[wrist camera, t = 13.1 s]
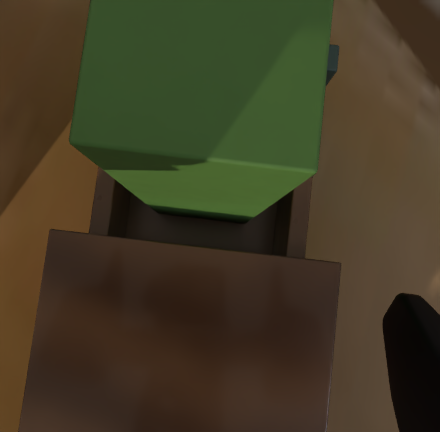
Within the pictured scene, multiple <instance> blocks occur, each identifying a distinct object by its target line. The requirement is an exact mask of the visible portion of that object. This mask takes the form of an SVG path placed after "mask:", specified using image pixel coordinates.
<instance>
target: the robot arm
mask: <svg viewBox="0 0 440 432" xmlns="http://www.w3.org/2000/svg"><path fill="white" fill-rule="evenodd" d="M383 335H384V343H385V351H386V359H387V367H388V376H389V384H390V390H391V397H392V402H393V406H394V411H395V415H396V419H397V424H398V428H399V432H440V315H439V314H438V313H437V312H436V311H435V310H434V309H433V308H432V307H431V306H430V305H429V304H428V303H427V302H426V301H425V300H424V299H423V298H422V297H421V296H419V295H415V294H406V293H400V294H398V295H397V296H396V297H395V299H394V300H393V302H392V304H391V305H390V307H389V309H388V310H387V312H386V314H385V315H384V318H383Z"/></svg>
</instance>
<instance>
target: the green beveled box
mask: <svg viewBox="0 0 440 432" xmlns="http://www.w3.org/2000/svg"><path fill="white" fill-rule="evenodd" d="M333 1H334V0H90V6H89V13H88V19H87V26H86V32H85V39H84V45H83V52H82V58H81V65H80V71H79V78H78V84H77V91H76V97H75V104H74V110H73V117H72V123H71V130H70V136H69V142H70V144H71V145H72V146H74V147H75V148H76V149H77V150H79V151H80V152H81V153H82V154H84V155H85V156H86V157H87V158H89V159H90V160H91V161H92V162H94V163H95V164H96V165H98V166H99V167H100V168H101V169H103V170H104V171H105V172H106V173H108V174H109V175H110V176H111V177H113V178H114V179H115V180H116V181H118V182H119V183H120V184H122V185H123V186H124V187H125V188H127V189H128V190H129V191H130V192H132V193H133V194H134V195H135V196H137V197H138V198H139V199H140V200H142V201H143V202H144V203H146V204H147V205H148V206H149V207H151V208H152V209H153V210H154V211H156V212H157V213H158V214H166V215H174V216H183V217H191V218H200V219H208V220H217V221H225V222H234V223H242V224H245V223H247V222H248V221H250V220H251V219H253V218H254V217H255V216H257V215H258V214H260V213H261V212H262V211H264V210H265V209H267V208H268V207H269V206H271V205H272V204H274V203H275V202H276V201H278V200H279V199H281V198H282V197H283V196H285V195H286V194H288V193H289V192H290V191H292V190H293V189H295V188H296V187H297V186H299V185H300V184H302V183H303V182H305V181H306V180H307V179H309V178H310V177H312V176H313V175H314V174H316V172H317V170H318V161H319V151H320V140H321V129H322V119H323V108H324V97H325V86H326V76H327V65H328V54H329V44H330V33H331V22H332V11H333Z"/></svg>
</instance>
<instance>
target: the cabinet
mask: <svg viewBox="0 0 440 432" xmlns="http://www.w3.org/2000/svg"><path fill="white" fill-rule="evenodd" d="M340 270H341V263H340V262H331V261H322V260H314V259H305V258H296V257H288V256H279V255H271V254H262V253H253V252H245V251H236V250H227V249H219V248H210V247H202V246H193V245H184V244H176V243H167V242H158V241H150V240H141V239H133V238H124V237H115V236H107V235H98V234H89V233H81V232H72V231H64V230H55V229H50V231H49V238H48V244H47V251H46V257H45V263H44V270H43V276H42V283H41V289H40V296H39V302H38V308H37V315H36V321H35V328H34V334H33V341H32V347H31V354H30V360H29V366H28V373H27V379H26V386H25V392H24V399H23V405H22V411H21V418H20V424H19V431H18V432H327V421H328V410H329V398H330V386H331V375H332V363H333V352H334V340H335V328H336V317H337V305H338V294H339V282H340Z"/></svg>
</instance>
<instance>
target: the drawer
mask: <svg viewBox="0 0 440 432" xmlns="http://www.w3.org/2000/svg"><path fill="white" fill-rule="evenodd" d="M338 55H339V46H338V45H330V44H329V54H328V65H327V76H326V85H327V84H328V83H329V81H330V80H331V78H332V77H333V76H334V74H335V73H336V72H337V66H338ZM325 87H326V86H325ZM311 186H312V177H310V178H309V179H307V180H306V181H305V182H303V183H302V184H300V185H299V186H297V187H296V188H295V189H293V190H292V191H290V192H289V193H288V194H286V195H285V196H283V197H282V198H281V199H279V200H278V201H276V202H275V203H274V204H272V205H271V206H269V207H268V208H267V209H265V210H264V211H262V212H261V213H260V214H258V215H257V216H255V217H254V218H253V219H251V220H250V221H248V222H247V223H245V224H242V223H234V222H225V221H217V220H208V219H200V218H191V217H183V216H174V215H166V214H158V213H157V212H156V211H154V210H153V209H152V208H151V207H149V206H148V205H147V204H146V203H144V202H143V201H142V200H140V199H139V198H138V197H137V196H135V195H134V194H133V193H132V192H130V191H129V190H128V189H127V188H125V187H124V186H123V185H122V184H120V183H119V182H118V181H116V180H115V179H114V178H113V177H111V176H110V175H109V174H108V173H106V172H105V171H104V170H103V169H101V168H100V167H98V174H97V181H96V188H95V194H94V201H93V208H92V215H91V222H90V229H89V234H98V235H107V236H115V237H124V238H133V239H141V240H150V241H158V242H167V243H176V244H184V245H193V246H202V247H210V248H219V249H227V250H236V251H245V252H253V253H262V254H271V255H279V256H288V257H296V258H305V249H306V239H307V228H308V218H309V207H310V196H311Z"/></svg>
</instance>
